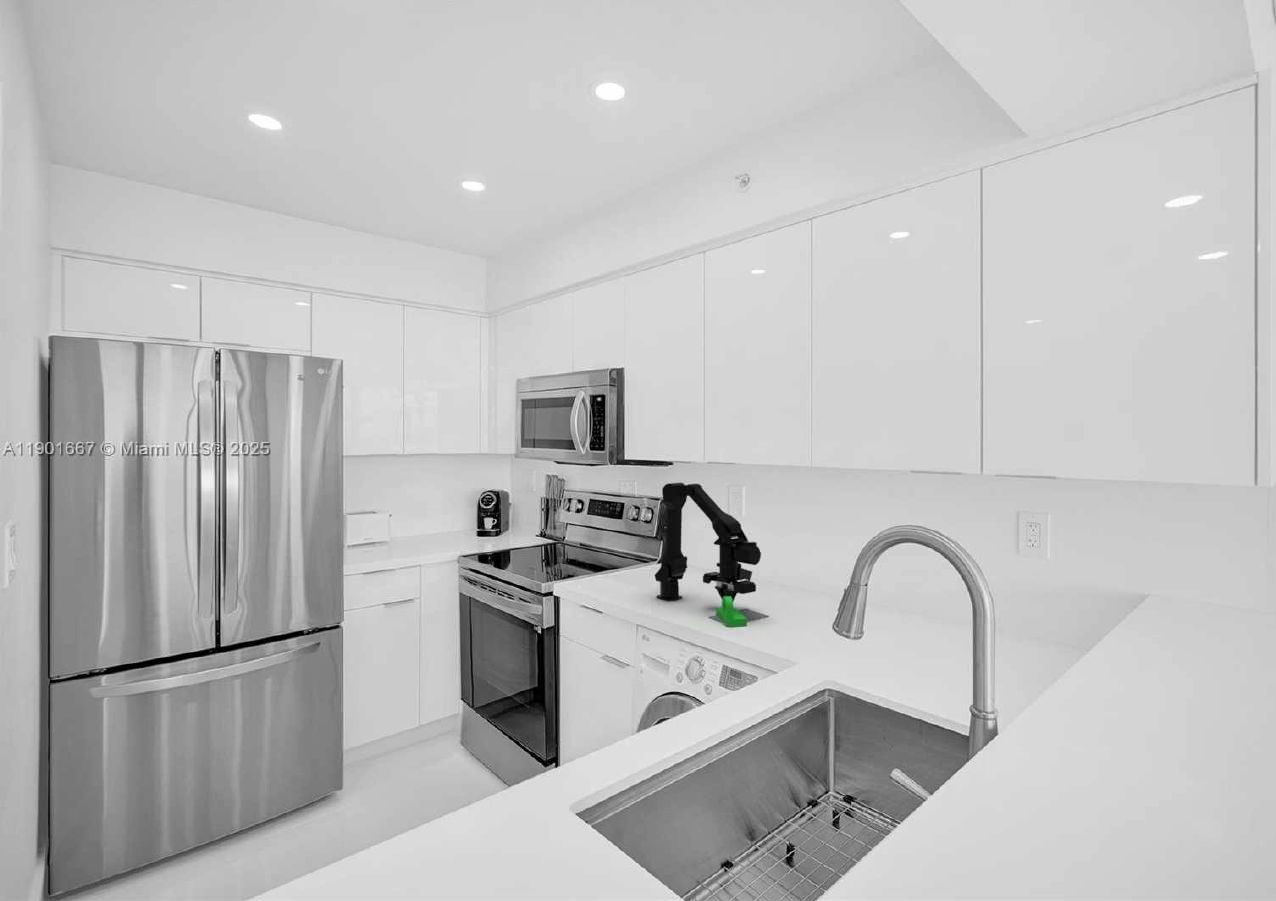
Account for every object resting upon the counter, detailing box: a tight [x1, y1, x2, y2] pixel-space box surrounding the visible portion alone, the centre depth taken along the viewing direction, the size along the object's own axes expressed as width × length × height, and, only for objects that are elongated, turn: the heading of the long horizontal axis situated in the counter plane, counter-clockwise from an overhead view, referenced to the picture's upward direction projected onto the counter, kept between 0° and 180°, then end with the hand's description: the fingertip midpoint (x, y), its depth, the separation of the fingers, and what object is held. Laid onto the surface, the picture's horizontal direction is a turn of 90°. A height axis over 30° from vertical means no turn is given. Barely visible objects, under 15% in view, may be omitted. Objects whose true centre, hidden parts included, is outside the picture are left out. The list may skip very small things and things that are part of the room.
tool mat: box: [708, 608, 769, 624], centre depth 190 cm, size 10×16×1 cm, turn 124°
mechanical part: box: [716, 596, 748, 627], centre depth 187 cm, size 12×6×8 cm, turn 7°
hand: (728, 609), depth 194 cm, fingers closed
